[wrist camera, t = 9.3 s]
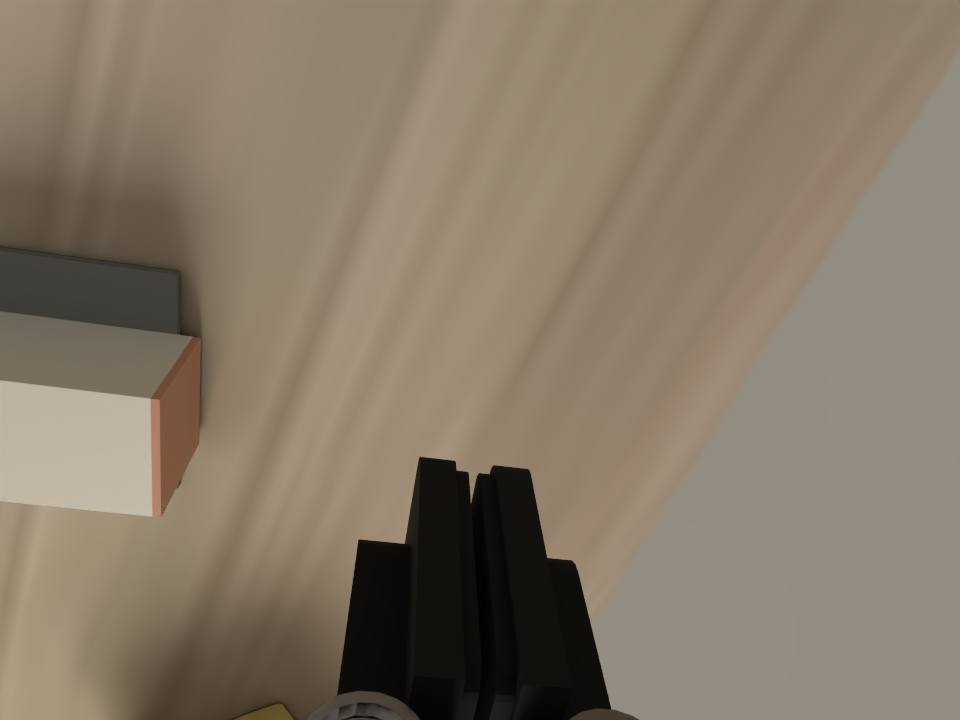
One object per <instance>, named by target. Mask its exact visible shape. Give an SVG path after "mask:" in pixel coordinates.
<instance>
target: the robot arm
mask: <svg viewBox="0 0 960 720" xmlns="http://www.w3.org/2000/svg"><path fill="white" fill-rule="evenodd" d="M306 720H639V719H637V718H635V717H634V716H631V715H628V714H625V713H622V712H619V711H617V710H611V706H610V702H609V698H608V694H607V689H606V685H605V681H604V677H603V673H602V669H601V665H600V661H599V656H598V652H597V649H596V644H595V640H594V636H593V632H592V628H591V624H590V619H589V615H588V611H587V607H586V603H585V599H584V595H583V591H582V586H581V582H580V578H579V574H578V571H577V568H576V565H575V563H574V562H573V561H571V560H561V559H551V558H547V555H546V550H545V545H544V540H543V535H542V530H541V525H540V519H539V514H538V509H537V504H536V499H535V494H534V489H533V484H532V478H531V474H530V471H529V470H528V469H522V468H513V467H504V466H495V465H494V466H493V467H492V469H491V471H490V474H481V473H479V474H478V476H477V479H476V483H475V488H474V493H473V498H472V503H471V500H470V485H469V473H468V472H463V471H456V462H455V461H451V460H443V459H434V458H425V457H420V458H419V462H418V467H417V473H416V479H415V485H414V491H413V497H412V503H411V509H410V516H409V522H408V528H407V534H406V540H405V544H399V543H389V542H379V541H369V540H359V541H358V548H357V555H356V562H355V570H354V577H353V584H352V592H351V599H350V606H349V613H348V621H347V628H346V635H345V643H344V650H343V657H342V665H341V672H340V679H339V687H338V694H337V696H336V697H334V698H332V699H330V700H328V701H326V702H324V703H322V704H321V705H320V706H319V707H318V708H317V709H316V710H315V711H314V712H312V713H311V714H310V715H309V716H308V717H307V719H306Z"/></svg>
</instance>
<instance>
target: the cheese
mask: <svg viewBox="0 0 960 720" xmlns="http://www.w3.org/2000/svg"><path fill="white" fill-rule="evenodd" d="M234 720H294V719H293V717H292V716H291V715H290V714H289V712H288V711H287V710H286V709H285V707H284V706H283V705H282V704H280V703H279V704H275V705H272V706H269V707H266V708H263V709H260V710H257V711H254V712H251V713H249V714H246V715H243V716H241V717H239V718H236V719H234Z"/></svg>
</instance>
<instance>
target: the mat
mask: <svg viewBox="0 0 960 720" xmlns="http://www.w3.org/2000/svg"><path fill="white" fill-rule="evenodd" d="M0 311H2V312H10V313H18V314H25V315H33V316H40V317H48V318H55V319H63V320H70V321H78V322H86V323H93V324H101V325H108V326H116V327H123V328H131V329H138V330H146V331H154V332H161V333H169V334H176V335H180V271H173V270H166V269H159V268H151V267H144V266H137V265H129V264H122V263H115V262H107V261H100V260H93V259H85V258H78V257H71V256H63V255H56V254H49V253H41V252H34V251H26V250H19V249H12V248H4V247H0ZM180 484H181V479H180V481H179V483H178V485H177V487H176V488H178V487H179V485H180Z"/></svg>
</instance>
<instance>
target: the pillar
mask: <svg viewBox="0 0 960 720" xmlns="http://www.w3.org/2000/svg"><path fill="white" fill-rule="evenodd" d="M200 358H201V338H199V337H191V336H184V335H176V334H169V333H161V332H154V331H146V330H138V329H131V328H123V327H116V326H108V325H101V324H93V323H86V322H78V321H70V320H63V319H55V318H48V317H40V316H33V315H25V314H18V313H10V312H2V311H0V501H5V502H15V503H25V504H35V505H44V506H54V507H64V508H74V509H83V510H93V511H103V512H113V513H122V514H132V515H142V516H151V517H161V516H162V514H163V513H164V511H165V509H166V507H167V505H168V503H169V501H170V499H171V497H172V495H173V493H174V491H175V489H176V487H177V485H178V483H179V481H180V479H181V478H182V476H183V474H184V472H185V470H186V468H187V466H188V464H189V462H190V460H191V458H192V456H193V454H194V452H195V450H196V448H197V446H198V444H199V420H200Z"/></svg>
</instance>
